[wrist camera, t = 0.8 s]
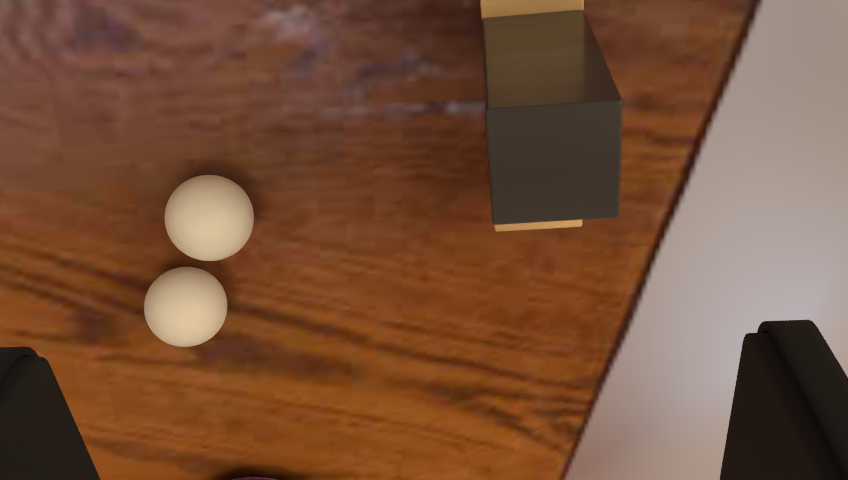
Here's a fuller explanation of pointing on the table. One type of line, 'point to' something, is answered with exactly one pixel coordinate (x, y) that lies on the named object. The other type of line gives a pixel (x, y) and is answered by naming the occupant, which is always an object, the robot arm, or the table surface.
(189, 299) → the crumb
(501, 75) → the brush
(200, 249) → the crumb
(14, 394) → the robot arm
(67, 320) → the table surface
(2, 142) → the table surface
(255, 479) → the beverage can
